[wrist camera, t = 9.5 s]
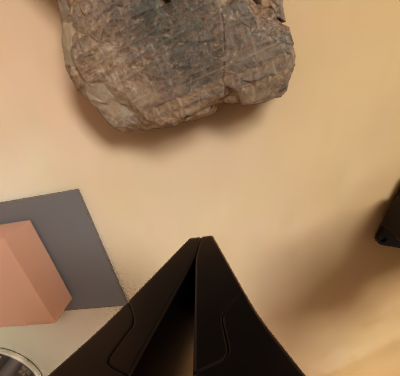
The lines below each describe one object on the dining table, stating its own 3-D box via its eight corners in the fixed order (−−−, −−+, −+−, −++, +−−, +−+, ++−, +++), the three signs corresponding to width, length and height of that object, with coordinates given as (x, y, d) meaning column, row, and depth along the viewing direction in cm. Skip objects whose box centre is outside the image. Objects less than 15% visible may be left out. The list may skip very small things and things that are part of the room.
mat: (78, 188, 22) (76, 190, 22) (127, 302, 27) (126, 305, 27) (-63, 213, 25) (-68, 215, 24) (6, 312, 30) (3, 315, 30)
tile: (3, 238, 20) (-82, 250, 22) (55, 322, 24) (-21, 328, 26) (32, 218, 23) (-45, 230, 25) (73, 296, 27) (5, 302, 29)
